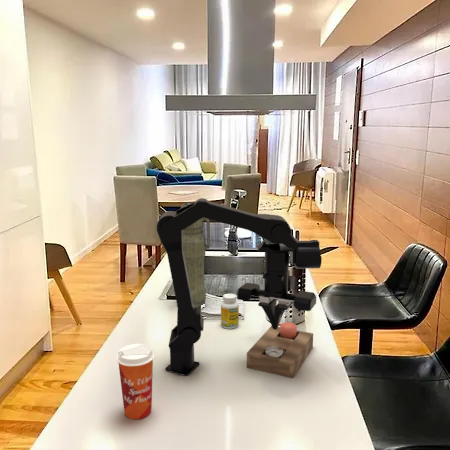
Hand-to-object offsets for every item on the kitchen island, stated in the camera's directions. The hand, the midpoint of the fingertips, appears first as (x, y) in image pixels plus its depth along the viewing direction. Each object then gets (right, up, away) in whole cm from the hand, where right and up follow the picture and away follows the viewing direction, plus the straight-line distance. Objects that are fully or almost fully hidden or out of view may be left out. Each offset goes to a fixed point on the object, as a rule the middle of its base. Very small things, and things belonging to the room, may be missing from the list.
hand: (275, 328), depth 117 cm
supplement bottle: (-11, -5, +26) cm, 29 cm away
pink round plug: (+5, -5, +11) cm, 13 cm away
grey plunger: (0, -9, +2) cm, 9 cm away
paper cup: (-31, -14, -16) cm, 38 cm away
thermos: (-23, -2, +42) cm, 48 cm away
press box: (+2, -9, +7) cm, 11 cm away
